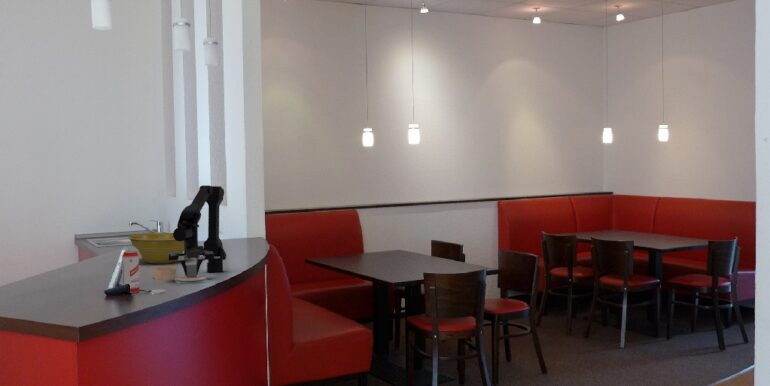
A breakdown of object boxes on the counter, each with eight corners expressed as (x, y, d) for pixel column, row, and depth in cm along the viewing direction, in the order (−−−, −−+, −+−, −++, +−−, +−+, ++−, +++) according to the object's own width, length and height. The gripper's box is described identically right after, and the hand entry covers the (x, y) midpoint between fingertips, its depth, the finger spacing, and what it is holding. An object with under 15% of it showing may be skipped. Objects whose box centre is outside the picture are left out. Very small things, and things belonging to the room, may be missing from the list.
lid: (203, 275, 317) (203, 262, 317) (207, 280, 306) (207, 266, 306) (175, 277, 313) (175, 264, 313) (178, 281, 302) (178, 267, 301)
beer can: (142, 291, 286) (142, 251, 285) (132, 294, 280) (131, 252, 279) (129, 290, 288) (129, 250, 287) (119, 293, 282) (118, 252, 281)
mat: (204, 278, 318) (204, 276, 318) (209, 282, 306) (209, 281, 306) (174, 279, 313) (174, 278, 313) (177, 284, 301) (177, 283, 301)
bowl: (174, 276, 322) (174, 266, 322) (176, 279, 313) (176, 269, 313) (153, 277, 319) (153, 267, 318) (154, 281, 310) (154, 270, 310)
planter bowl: (207, 260, 374) (207, 234, 374) (157, 268, 347) (157, 240, 346) (165, 256, 391) (164, 231, 391) (114, 263, 364) (114, 236, 364)
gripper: (169, 241, 298) (170, 279, 298) (215, 239, 305) (216, 276, 305) (167, 239, 308) (167, 275, 309) (212, 237, 315) (212, 273, 316)
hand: (191, 275), depth 309 cm, fingers closed on lid, 4 cm apart
